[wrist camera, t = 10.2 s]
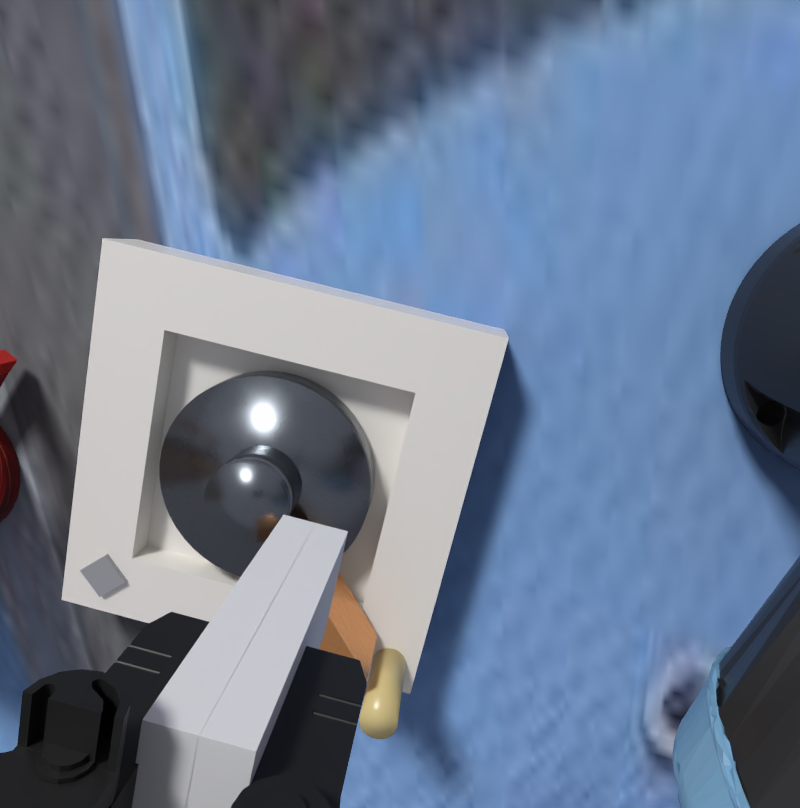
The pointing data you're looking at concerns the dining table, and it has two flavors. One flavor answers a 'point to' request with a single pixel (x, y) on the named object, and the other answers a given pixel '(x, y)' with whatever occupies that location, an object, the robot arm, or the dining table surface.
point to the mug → (7, 453)
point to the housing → (296, 354)
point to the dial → (271, 479)
